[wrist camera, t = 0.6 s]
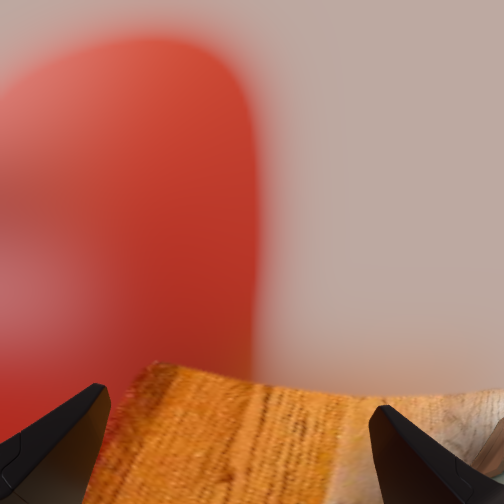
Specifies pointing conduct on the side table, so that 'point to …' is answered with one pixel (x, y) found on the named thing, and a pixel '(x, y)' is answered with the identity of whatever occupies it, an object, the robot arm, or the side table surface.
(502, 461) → the chute
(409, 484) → the robot arm
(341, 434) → the side table surface
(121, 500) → the side table surface
